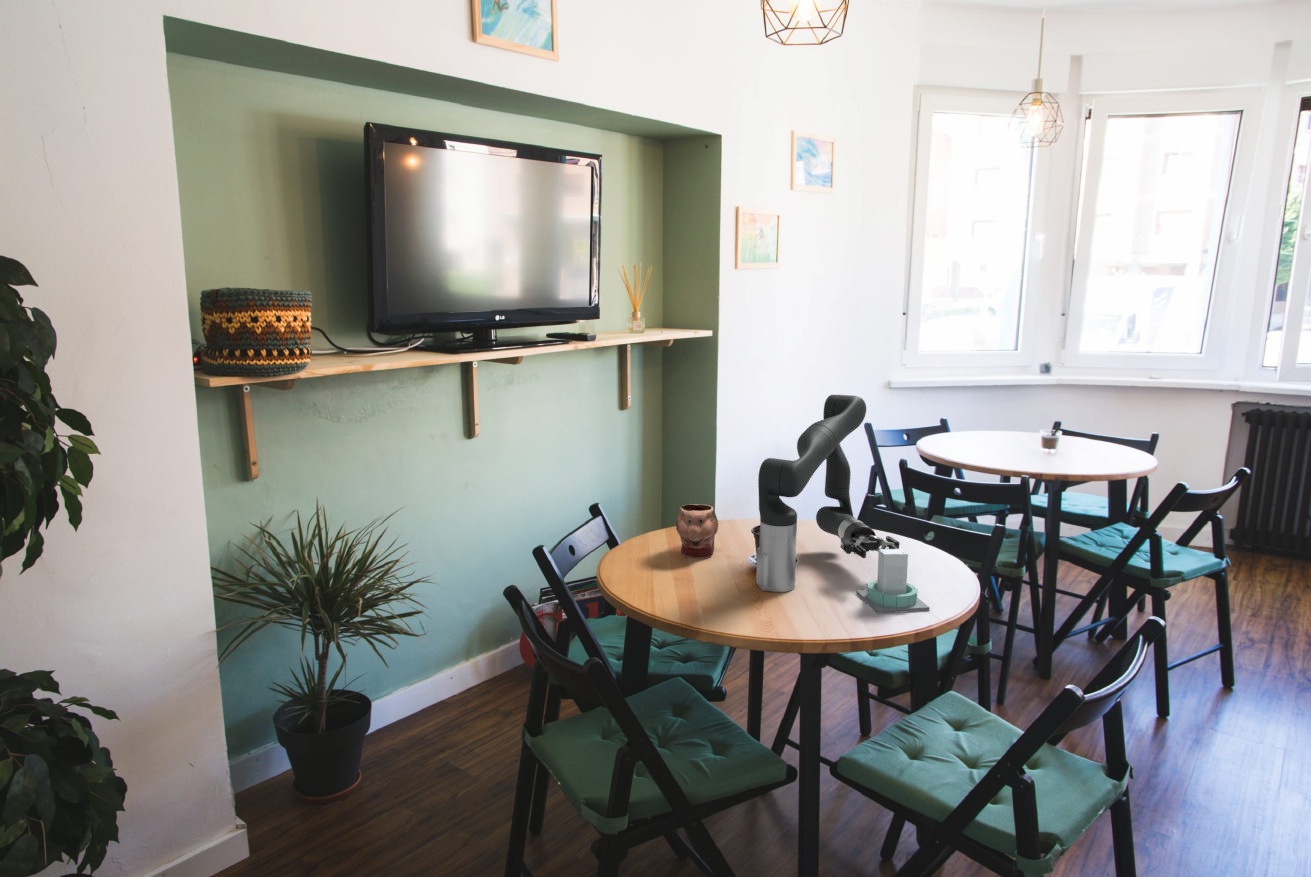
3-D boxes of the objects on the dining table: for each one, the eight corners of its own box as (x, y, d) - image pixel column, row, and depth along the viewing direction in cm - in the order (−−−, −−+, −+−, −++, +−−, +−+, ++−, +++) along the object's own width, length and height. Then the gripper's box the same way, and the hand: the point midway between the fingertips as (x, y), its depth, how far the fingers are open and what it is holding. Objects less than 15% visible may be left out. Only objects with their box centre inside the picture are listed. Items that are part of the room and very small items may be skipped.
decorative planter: (675, 541, 243) (676, 497, 241) (715, 542, 243) (716, 497, 241) (676, 563, 224) (676, 515, 221) (719, 563, 223) (720, 515, 221)
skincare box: (899, 594, 198) (902, 548, 196) (906, 601, 194) (908, 554, 192) (875, 595, 198) (878, 548, 196) (881, 601, 194) (884, 554, 192)
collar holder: (877, 613, 189) (878, 598, 188) (856, 593, 202) (856, 579, 201) (929, 610, 191) (930, 596, 190) (905, 590, 203) (905, 577, 203)
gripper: (831, 522, 216) (854, 540, 200) (882, 520, 218) (908, 538, 202) (830, 549, 217) (853, 569, 202) (880, 547, 219) (906, 566, 203)
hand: (881, 553), depth 202 cm, fingers open, 8 cm apart
